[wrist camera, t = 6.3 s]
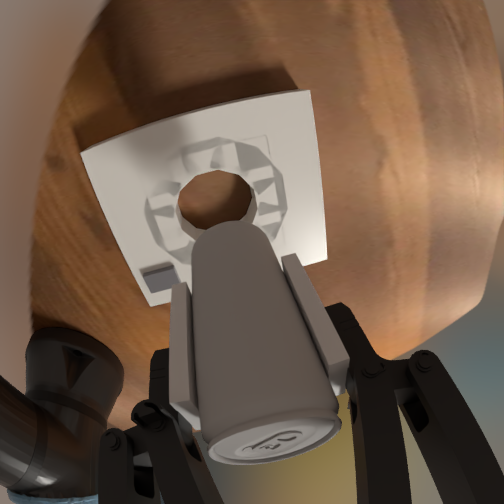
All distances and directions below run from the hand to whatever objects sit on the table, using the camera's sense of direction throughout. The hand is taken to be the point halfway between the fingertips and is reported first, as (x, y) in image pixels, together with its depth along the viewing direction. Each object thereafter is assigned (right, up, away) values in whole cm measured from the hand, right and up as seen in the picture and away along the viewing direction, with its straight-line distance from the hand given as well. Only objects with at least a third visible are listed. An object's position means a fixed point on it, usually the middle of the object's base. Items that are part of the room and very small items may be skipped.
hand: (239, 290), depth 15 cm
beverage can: (-1, +2, +3) cm, 4 cm away
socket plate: (-3, +7, +11) cm, 13 cm away
